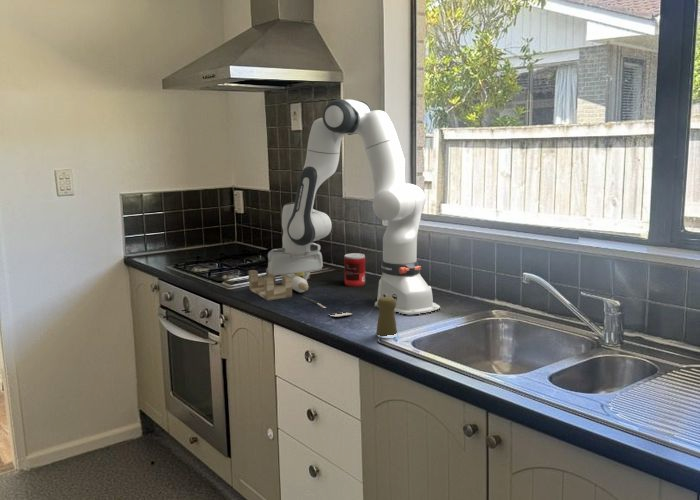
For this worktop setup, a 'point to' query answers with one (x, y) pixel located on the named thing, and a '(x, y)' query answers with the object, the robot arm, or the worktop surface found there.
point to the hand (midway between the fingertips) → (295, 284)
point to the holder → (270, 286)
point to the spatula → (325, 307)
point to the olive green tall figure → (386, 316)
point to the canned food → (354, 269)
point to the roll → (298, 283)
